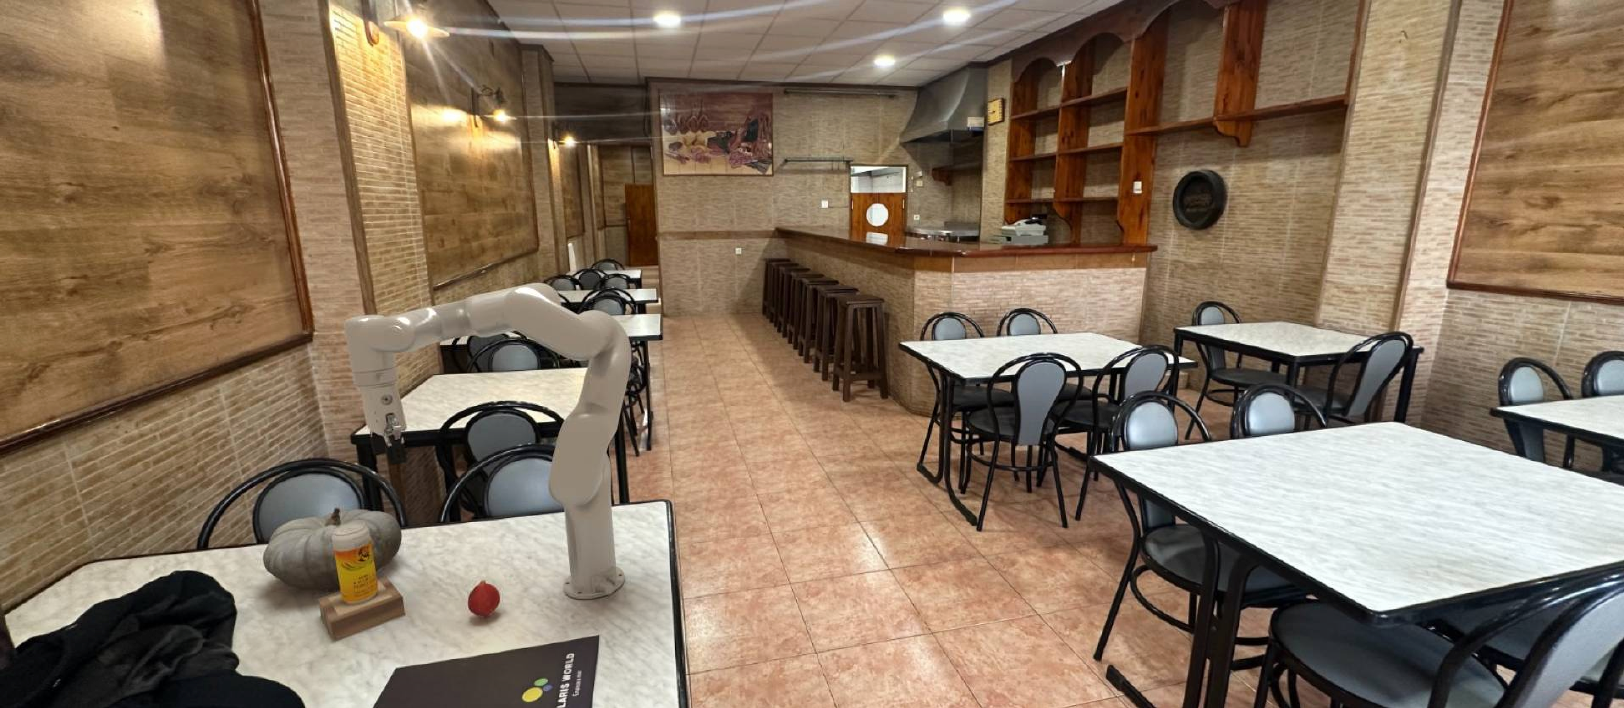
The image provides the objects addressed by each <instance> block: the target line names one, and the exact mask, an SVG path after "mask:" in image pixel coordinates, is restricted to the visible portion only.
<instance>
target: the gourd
mask: <svg viewBox="0 0 1624 708" xmlns="http://www.w3.org/2000/svg"><path fill="white" fill-rule="evenodd" d="M351 523H364V524H365V525H366V526H367V528H368V529H369V534H370V540H371V546H372V552H373V558H374V565H375V571H376V573H377V572H378V571H379V570H381V569H383V568H385V567H386V566H387V565H389V563H390V562H391V561H393V559H394V558H395V557H396V555H397V554H398V552H399V550H400V548H401V544H402V541H403V540H402V537H403V536H402V529H401V526H400V524H399V522H398V521H397V519H396V518H395V517H394V516H393V515H391V514H389V513H387V512H383V511H379V510H378V511H376V510H373V511H372V510H368V509H361V508H359V509H358V508H356V509H344V510H341V508H340V507H339V506H335V508H334V510H333V512H331V513H328V514H325V515H323V516H318V517H316V516H312V517H311V516H310V517H304V518H297V519H292V520H290V521H287V522H286V523H284V524H282V525H281V526H278V527H277V528H276V529H275V530H274V532H273V533H272V534H271V536H270V538H269V541H268V544H267V546H266V547H265V548H264V551H263V555H262V560H263V561H262V562H263V566H264V568H265V570H266V571H267V572H268V574H271V575H272V576H274V578H276V579H277V580H279V581H280V582H281V583H282V584H283V585H285V586H287V587H290V588H293V589H296V590H302V591H311V590H312V591H314V592H332V591H333V592H334V591H336V590H338V589H340V583H339V577H338V571H337V566H336V560H335V554H334V548H333V543H332V536H333V532H334V530H335V529H337V528H339V527H341V526H343V525H347V524H351Z"/></svg>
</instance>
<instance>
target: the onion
mask: <svg viewBox="0 0 1624 708" xmlns="http://www.w3.org/2000/svg"><path fill="white" fill-rule="evenodd" d="M500 603H501V593H500V591H499V589H497V587H496V586H494V585H492V584H491V583H487V582H486V580H485V579H482V580H481V581H479V583H478V584H477V585H475V586H474V588H472V590H471V591H470V593H469V595H468V598H467V607H468V610H469V612H470V613H471V614H472V615H475V616H477V617H483V618H488V617H490V616H491V615H492V614H493V613H494V611H496V609H497V608H498V607H499V605H500Z"/></svg>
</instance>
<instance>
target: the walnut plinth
mask: <svg viewBox="0 0 1624 708" xmlns="http://www.w3.org/2000/svg"><path fill="white" fill-rule="evenodd" d="M377 583H378V591H377V593H376V595H375V596H374V597H373V598H372V599H370V600H368V601H366V602H363V603H359V604H348V603H346V602H345V601H343V600H342V594H341V590H340V591H338V592H333V593H332V594H329V595H326V596H323V597H319V598H317V600H318V607H319V613H320V617H321V619H322V621H323V624H324V625H325V626H326V629H327V630H328V633H329V634H330V636H331V638H332V639H333V642H334V643H335V642H337V641H340V640H343V639H346V638H348V637H351V636H353V635H356V634H359V633H361V632H363V631H366V630H369V629H371V628H374V627H377V626H379V625H380V626H381V625H382V624H384V623H387V622H390V621H392V620H396V619H398V618H401V617H403V616H405V615H406V609H405V604H404V603H405V602H404V597H403V595H402V594H401V593H400V591H399V590H398V589H397V588H396V587H395V585H394V584H393V583H392V581H391V580H390V579H389V578H388V577H387V575H385V576H382V577H378V578H377Z"/></svg>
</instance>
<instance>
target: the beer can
mask: <svg viewBox="0 0 1624 708" xmlns="http://www.w3.org/2000/svg"><path fill="white" fill-rule="evenodd" d="M332 543H333V548H334V554H335V560H336V566H337V571H338V577H339V583H340V588H339V589H340V591H341V594H342V600H343V601H345V602H346V603H348V604H359V603H363V602H366V601H368V600H370V599H372V598H373V597H374V596H375V595H376V593H377V591H378V583H377V579H378V578H377V572H376V571H375V565H374V558H373V552H372V546H371V540H370V534H369V529H368V528H367V526H366V525H365V524H364V523H351V524H347V525H343V526H341V527H339V528H337V529H335V530H334V532H333V536H332Z"/></svg>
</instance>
